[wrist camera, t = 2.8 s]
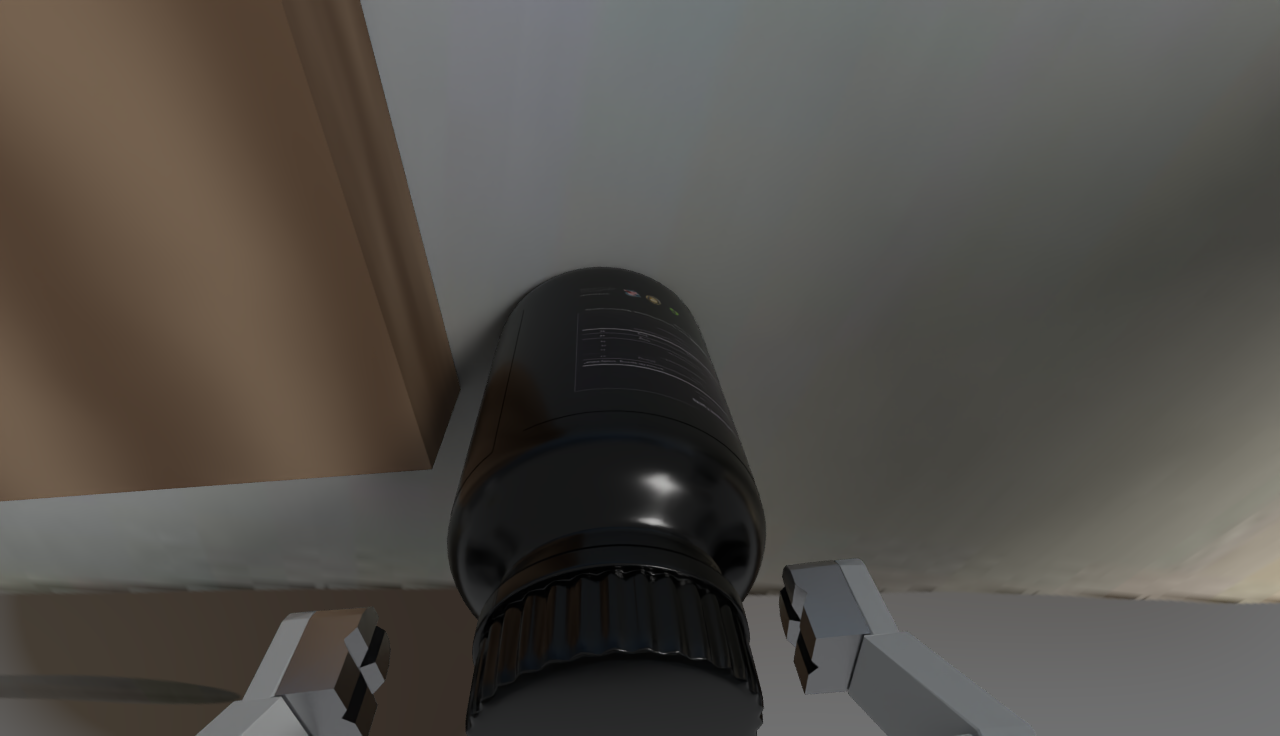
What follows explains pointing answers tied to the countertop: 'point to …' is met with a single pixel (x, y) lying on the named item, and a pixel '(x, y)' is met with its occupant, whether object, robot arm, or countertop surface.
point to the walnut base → (207, 251)
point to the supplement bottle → (607, 523)
